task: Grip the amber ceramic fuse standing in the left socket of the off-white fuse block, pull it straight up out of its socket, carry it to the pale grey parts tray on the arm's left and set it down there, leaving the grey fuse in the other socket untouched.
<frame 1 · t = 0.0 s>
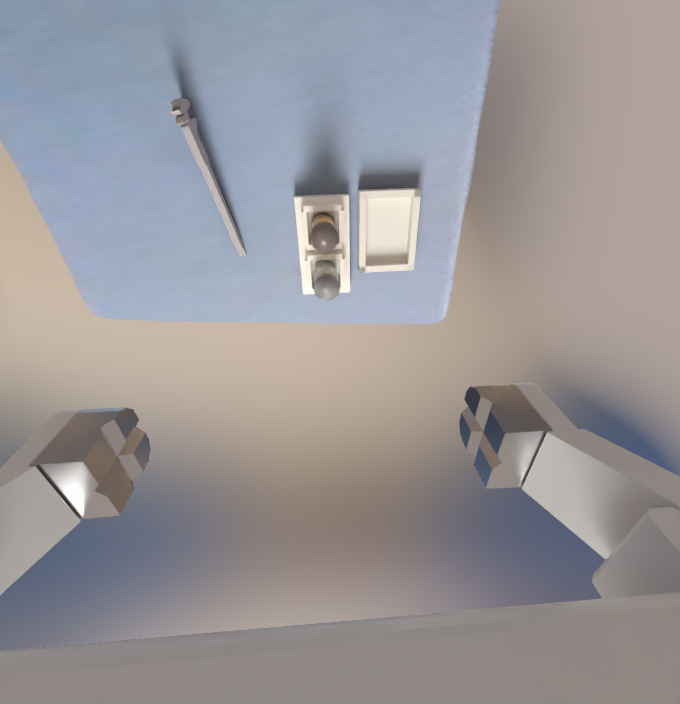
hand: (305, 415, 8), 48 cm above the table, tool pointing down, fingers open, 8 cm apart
fuse block: (324, 245, 53), on the table
caliper: (219, 186, 48), on the table
parts tray: (385, 229, 52), on the table
blown fuse: (323, 225, 49), point 2 cm above the table, touching fuse block
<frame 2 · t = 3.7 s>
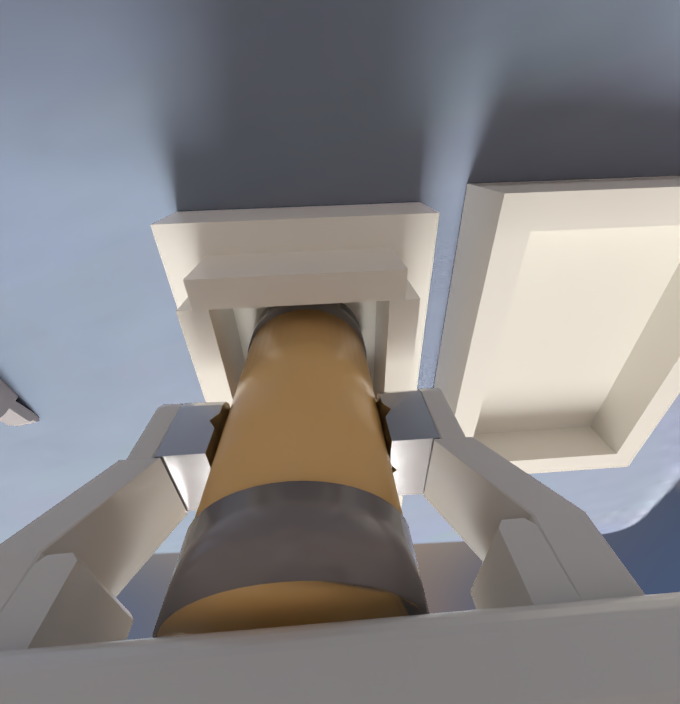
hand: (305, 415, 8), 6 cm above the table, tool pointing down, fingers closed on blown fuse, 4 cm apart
fuse block: (315, 385, 15), on the table
parts tray: (543, 335, 14), on the table
blown fuse: (308, 342, 11), point 2 cm above the table, touching fuse block, gripper
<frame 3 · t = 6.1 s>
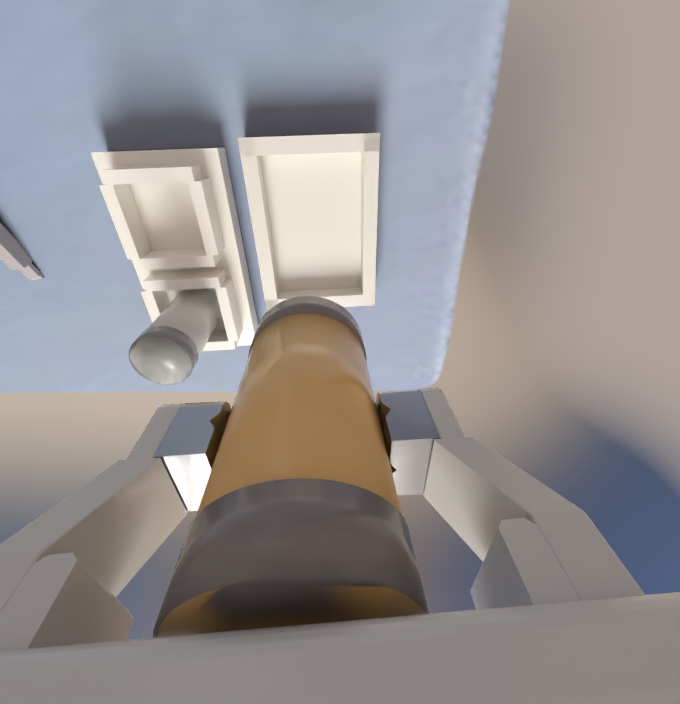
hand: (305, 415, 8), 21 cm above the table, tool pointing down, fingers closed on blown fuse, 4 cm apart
fuse block: (195, 257, 27), on the table
parts tray: (315, 226, 26), on the table
blown fuse: (308, 346, 11), point 18 cm above the table, touching gripper
when the fingers open (6 cm above the table, at t = 8.8 s): blown fuse drops 2 cm, resting on parts tray.
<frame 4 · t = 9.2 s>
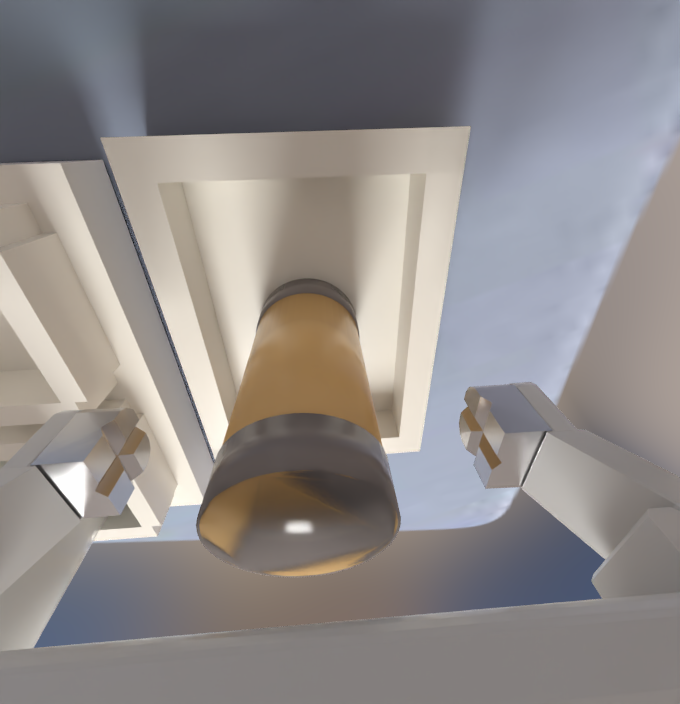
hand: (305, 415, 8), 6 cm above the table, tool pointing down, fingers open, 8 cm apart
fuse block: (81, 365, 14), on the table
parts tray: (310, 310, 13), on the table
blown fuse: (308, 323, 13), point 1 cm above the table, touching parts tray
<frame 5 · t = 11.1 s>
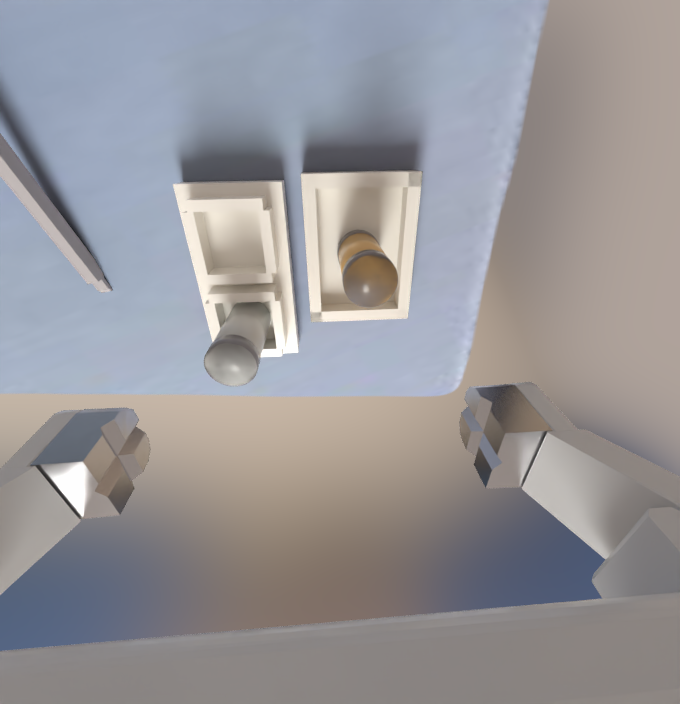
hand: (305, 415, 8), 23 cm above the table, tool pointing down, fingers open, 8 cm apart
fuse block: (248, 273, 30), on the table
caliper: (36, 166, 25), on the table
parts tray: (357, 247, 29), on the table
blown fuse: (358, 251, 29), point 1 cm above the table, touching parts tray
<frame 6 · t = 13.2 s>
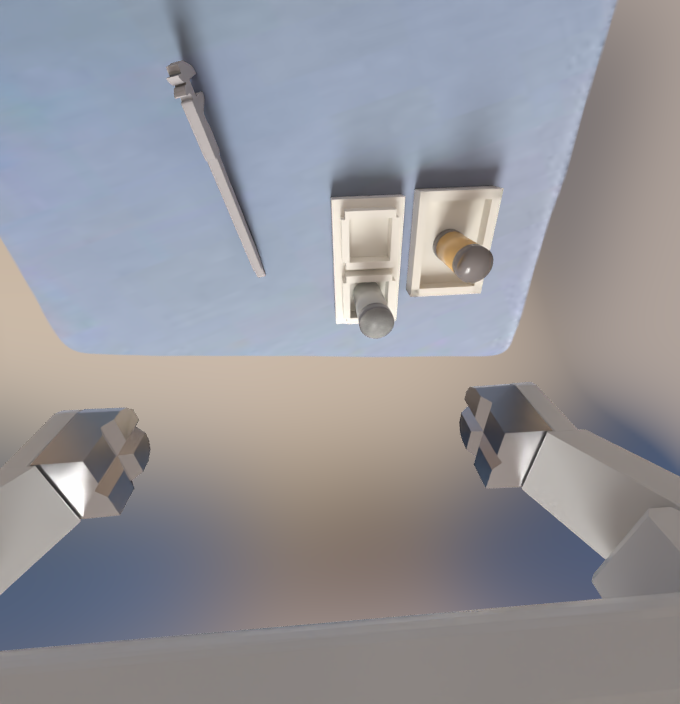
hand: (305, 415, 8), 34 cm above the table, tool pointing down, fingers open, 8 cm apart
fuse block: (365, 261, 41), on the table
caliper: (232, 188, 36), on the table
parts tray: (446, 241, 40), on the table
blown fuse: (447, 244, 39), point 1 cm above the table, touching parts tray
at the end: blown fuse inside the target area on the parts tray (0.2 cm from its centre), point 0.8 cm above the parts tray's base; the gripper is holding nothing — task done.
